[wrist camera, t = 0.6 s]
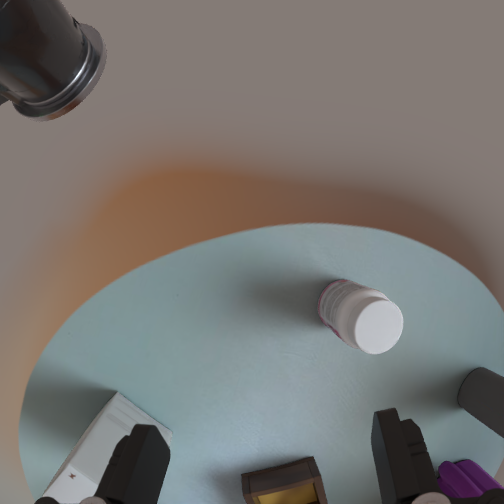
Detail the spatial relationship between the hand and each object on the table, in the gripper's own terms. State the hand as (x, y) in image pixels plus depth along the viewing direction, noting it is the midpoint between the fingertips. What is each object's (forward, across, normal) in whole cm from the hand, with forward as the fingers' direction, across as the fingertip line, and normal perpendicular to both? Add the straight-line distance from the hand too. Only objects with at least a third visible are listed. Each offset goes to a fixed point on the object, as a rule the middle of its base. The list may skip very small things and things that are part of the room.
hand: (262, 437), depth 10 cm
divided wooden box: (+10, +2, +30) cm, 31 cm away
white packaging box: (+12, +17, +15) cm, 26 cm away
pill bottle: (+19, -5, +6) cm, 21 cm away
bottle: (+18, -23, +22) cm, 36 cm away
